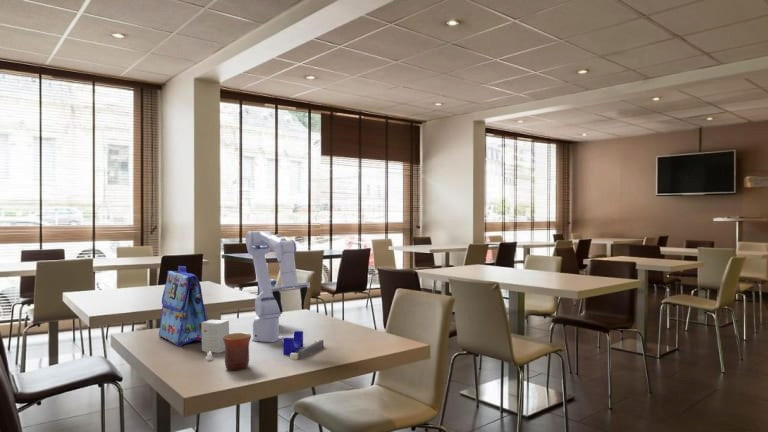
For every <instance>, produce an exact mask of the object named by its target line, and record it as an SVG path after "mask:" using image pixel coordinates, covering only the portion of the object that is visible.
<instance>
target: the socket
mask: <svg viewBox="0 0 768 432" xmlns="http://www.w3.org/2000/svg"><path fill="white" fill-rule="evenodd" d="M324 345H325V344H324V339H319V340H314V342H313V343H312V344H310V345H307V346H306V347H303V348H301V349H300V350H298V351H297V352H296V353H290V355H289V357H290V358H289V359H290V360H296V361H297V360H298V359H300V360H302V359H304V358H306V357H307V356H309V355H311V354H313V353H315V352H317V351H318V350H320V349H323V348H324Z"/></svg>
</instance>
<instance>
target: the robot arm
mask: <svg viewBox="0 0 768 432" xmlns="http://www.w3.org/2000/svg"><path fill="white" fill-rule="evenodd" d="M245 245H246V249H247V252H248V254H249V255H251V257H252V261H253V267H254V271H255V276H256V281H257V286H258V285H259V290H260V294H259V295H258V294H257V296H256V297H255V300H254V310H255V315H256V317H255V318H254V319H253V322H252V323H253V324H252V332H253V333H252V335H253V336H252V338H251V341H253V342H264V343H275V342H277V341H280V340H281V339H282V340H283V338H284V336H280V330H279V329H280V326H279V325H280V317H281V315H282V314H283V312H284V307H285V306H284V302H283V300H282V297H281V296H282V295H281V293H282V292H289V291H294V290H299V293H300V301H301V302H300V303H301V304H300V305H301V310H305V300H306V297H307V292H308V289H311V285H310V284H311V283H310V281H309V282H301V283H298V279H297V268H296V260H295V259H296V258H295V256H296V253H297V244H296V241H294V239H290V240H287V239H286V238H285V237H281V234H278V233H277V234H275V235H274V234H273V231H272V230H256V231H255V230H253V231H252V230H249V231H247V232H246V234H245ZM271 250H272V251H274V253H275V254H274V255H275V256H276V260H277V262H278V265H279V266H278V267H279V274H280V275H279V276H280V284H281V285H278V286H277V285H276V286H275V287H272V285H271V281H270V279H271V277H270V272H269V268H268V264H267V260H266V259H267V258H266V255H267V254H269V253H270V252H271Z"/></svg>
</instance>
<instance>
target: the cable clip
mask: <svg viewBox="0 0 768 432" xmlns="http://www.w3.org/2000/svg"><path fill="white" fill-rule="evenodd" d="M282 340H283V342H282V343H283V345H282V347H283V350H282V352H283V353H282V355H283V356H290V353H298V351H300V350H302V349H303V348H304V331H303V330H294V331H293V337H283V338H282Z"/></svg>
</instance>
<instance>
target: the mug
mask: <svg viewBox="0 0 768 432" xmlns="http://www.w3.org/2000/svg"><path fill="white" fill-rule="evenodd" d="M251 339H252V334H250V333H245V332H236V333H235V332H234V333H229V334H228V335H225V336H223V341H224V344H225V351H224V365H225V369H226V370H229V371H231V372H237V371H242V370H243V371H244V370H246V369H247V368H248V367H249V363H250V342H251V341H250V340H251Z"/></svg>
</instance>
